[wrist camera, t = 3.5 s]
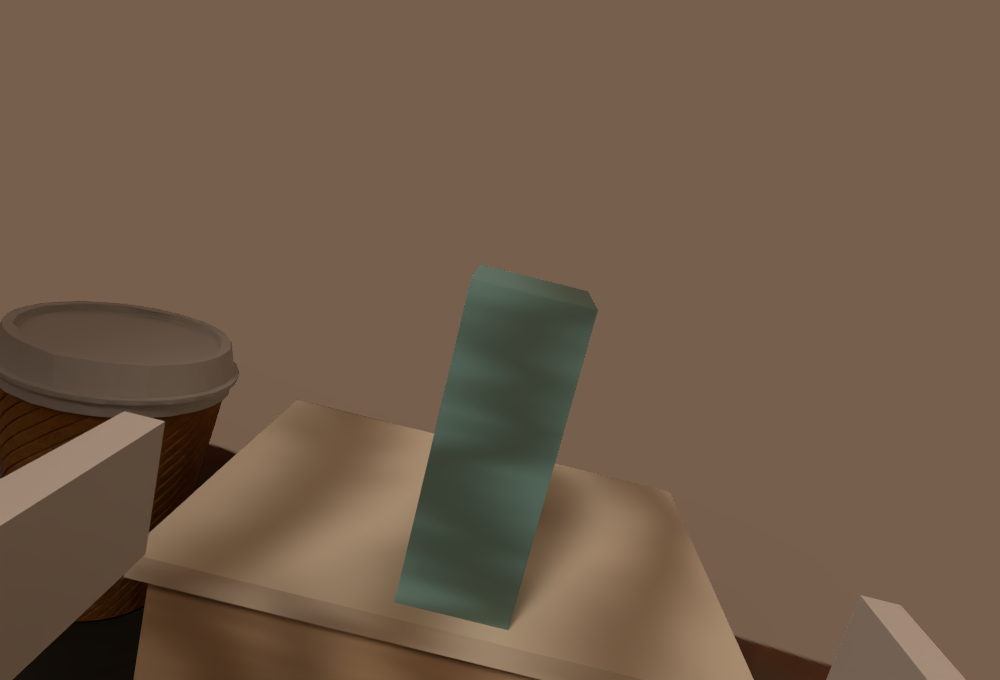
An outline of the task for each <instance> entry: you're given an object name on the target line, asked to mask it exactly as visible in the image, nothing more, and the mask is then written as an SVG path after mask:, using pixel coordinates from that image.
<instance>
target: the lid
mask: <svg viewBox="0 0 1000 680" xmlns="http://www.w3.org/2000/svg"><path fill="white" fill-rule="evenodd" d="M597 311H598V310H597V308H596V306H595V304H594V302H593V300H592V298H591V297H590V295H589V293H588V291H584V290H580V289H576V288H572V287H568V286H564V285H560V284H556V283H552V282H548V281H544V280H540V279H536V278H532V277H528V276H524V275H520V274H516V273H512V272H508V271H504V270H500V269H496V268H492V267H488V266H484V265H480V266H479V267H478V269H477V271H476V272H475V273H474V275H473V276H472V278H471V281H470V286H469V289H468V294H467V298H466V302H465V306H464V311H463V315H462V319H461V323H460V328H459V332H458V336H457V341H456V344H455V348H454V353H453V357H452V361H451V365H450V370H449V374H448V378H447V383H446V386H445V391H444V395H443V399H442V403H441V408H440V412H439V416H438V420H437V425H436V429H435V433H430V432H426V431H422V430H418V429H414V428H410V427H406V426H402V425H397V424H394V423H390V422H386V421H381V420H377V419H374V418H369V417H366V416H361V415H358V414H353V413H349V412H345V411H341V410H337V409H333V408H329V407H325V406H321V405H317V404H313V403H309V402H305V401H301V400H296V401H295V402H293V403H292V404H291V405H290V406H289V407H288V408H287V409H286V410H285V411H284V412H283V413H281V414H280V415H279V416H278V417H277V418H276V419H275V420H274V421H272V422H271V423H270V424H269V425H268V426H267V427H266V428H265V429H264V430H263V431H261V432H260V433H259V434H258V435H257V436H256V437H255V438H254V439H253V440H252V441H250V442H249V443H248V444H247V445H246V446H245V447H244V448H243V449H241V451H239V452H238V453H237V454H236V455H235V456H234V457H233V458H231V459H230V460H229V461H228V462H227V463H226V464H225V465H224V466H223V467H222V468H220V469H219V470H218V471H217V472H216V473H215V474H214V475H213V476H212V477H210V478H209V479H208V480H207V481H206V482H205V483H204V484H203V485H202V486H201V487H199V488H198V489H197V490H196V491H195V492H194V493H193V494H192V495H191V496H189V497H188V498H187V499H186V500H185V501H184V502H183V503H182V504H181V505H179V506H178V507H177V508H176V509H175V510H174V511H173V512H172V513H171V514H170V515H168V516H167V517H166V518H165V519H164V520H163V521H162V522H161V523H160V524H158V525H157V526H156V527H155V528H154V529H153V530H152V531H151V532H150V533H149V535H148V541H147V548H146V554H145V555H144V556H143V557H142V558H141V559H140V560H139V561H138V562H137V563H136V564H135V565H134V566H133V567H132V568H131V569H129V570H128V571H127V572H126V573H125V574H124V577H125V578H129V579H133V580H137V581H141V582H145V583H149V584H153V585H157V586H161V587H166V588H170V589H174V590H178V591H182V592H186V593H190V594H194V595H198V596H202V597H206V598H210V599H214V600H219V601H223V602H227V603H231V604H235V605H239V606H243V607H247V608H251V609H255V610H259V611H263V612H267V613H271V614H276V615H280V616H284V617H288V618H292V619H296V620H300V621H304V622H308V623H312V624H316V625H320V626H324V627H328V628H333V629H337V630H341V631H345V632H349V633H353V634H357V635H361V636H365V637H369V638H373V639H377V640H381V641H386V642H390V643H394V644H398V645H402V646H406V647H410V648H414V649H418V650H422V651H426V652H430V653H434V654H438V655H443V656H447V657H451V658H455V659H459V660H463V661H467V662H471V663H475V664H479V665H483V666H487V667H491V668H495V669H500V670H504V671H508V672H512V673H516V674H520V675H524V676H528V677H532V678H536V679H540V680H754V679H753V677H752V675H751V673H750V671H749V668H748V666H747V664H746V662H745V659H744V657H743V655H742V653H741V650H740V648H739V646H738V644H737V641H736V639H735V637H734V635H733V633H732V630H731V628H730V626H729V624H728V621H727V619H726V617H725V615H724V612H723V610H722V608H721V606H720V603H719V602H718V599H717V597H716V595H715V592H714V590H713V588H712V586H711V583H710V581H709V579H708V577H707V575H706V572H705V570H704V568H703V566H702V563H701V561H700V559H699V557H698V554H697V552H696V550H695V548H694V545H693V543H692V541H691V539H690V536H689V534H688V532H687V530H686V528H685V525H684V523H683V521H682V519H681V516H680V514H679V512H678V510H677V507H676V505H675V503H674V501H673V499H672V496H671V494H670V492H668V491H664V490H660V489H656V488H651V487H648V486H643V485H640V484H636V483H631V482H628V481H623V480H620V479H616V478H612V477H608V476H603V475H599V474H595V473H591V472H587V471H583V470H579V469H575V468H571V467H567V466H563V465H559V464H555V461H556V458H557V454H558V450H559V447H560V443H561V440H562V436H563V432H564V429H565V425H566V422H567V418H568V415H569V411H570V407H571V404H572V400H573V397H574V393H575V390H576V386H577V382H578V379H579V375H580V372H581V368H582V365H583V361H584V358H585V354H586V350H587V347H588V343H589V340H590V336H591V333H592V329H593V325H594V322H595V318H596V314H597Z"/></svg>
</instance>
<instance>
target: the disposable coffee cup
mask: <svg viewBox="0 0 1000 680" xmlns="http://www.w3.org/2000/svg"><path fill="white" fill-rule="evenodd" d="M238 374H239V371H238V368H237V366H236V364H235V363H234V362H233V354H232V342H231V341H230V339H229V338H228V337H227V336H226V334H225V333H223V332H222V331H220V330H218V329H217V328H215V327H214V326H211V325H209V324H207V323H205V322H202V321H199V320H196V319H193V318H190V317H186V316H183V315H180V314H177V313H172V312H168V311H163V310H159V309H154V308H148V307H142V306H135V305H128V304H119V303H106V302H87V301H73V302H51V303H40V304H35V305H30V306H25V307H21V308H18V309H15V310H13V311H11V312H9V313H7V314H6V315H5V316H4V317H3V318H2V321H1V323H0V447H1V453H0V454H1V461H2V466H1V468H2V475H3V477H5V476H7V475H9V474H10V473H12V472H14V471H16V470H18V469H20V468H21V467H23V466H25V465H27V464H29V463H31V462H32V461H34V460H36V459H38V458H40V457H42V456H43V455H45V454H47V453H49V452H51V451H53V450H54V449H56V448H58V447H60V446H62V445H64V444H65V443H67V442H69V441H71V440H73V439H75V438H76V437H78V436H80V435H82V434H84V433H86V432H87V431H89V430H91V429H93V428H95V427H96V426H98V425H100V424H102V423H104V422H106V421H107V420H109V419H111V418H113V417H115V416H117V415H118V414H120V413H122V412H124V411H125V412H129V413H133V414H137V415H141V416H145V417H149V418H153V419H157V420H161V421H165V426H164V433H163V439H162V446H161V453H160V460H159V467H158V473H157V480H156V487H155V494H154V501H153V507H152V514H151V521H150V528H149V533H150V532H151V531H152V530H153V529H154V528H155V527H156V526H157V525H158V524H160V523H161V522H162V521H163V520H164V519H165V518H166V517H167V516H168V515H170V514H171V513H172V512H173V511H174V510H175V509H176V508H177V507H178V506H179V505H181V504H182V503H183V502H184V501H185V500H186V499H187V498H188V497H189V496H191V495H192V494H193V493H194V490H195V487H196V484H197V480H198V477H199V474H200V471H201V467H202V465H203V462H204V458H205V454H206V451H207V448H208V444H209V441H210V438H211V435H212V431H213V428H214V425H215V422H216V418H217V415H218V412H219V409H220V405H221V402H222V400H223V399H224V398H225V397H226V396H227V395H228V393H229V389H230V388H231V387H232V386H233V385H234V384H235V383H236V381H237V379H238ZM147 586H148V583H145V582H141V581H137V580H133V579H129V578H125V577H124V575H123V576H122V577H121V578H120V579H119V580H118V581H117V582H116V583H115V584H114V585H112V586H111V587H110V588H109V589H108V590H107V591H106V592H105V593H104V594H103V595H102V596H101V597H100V598H99V599H98V600H97V601H95V602H94V603H93V604H92V605H91V606H90V607H89V608H88V609H87V610H86V611H85V612H84V613H83V614H82V615H81V616H80V617H78V618H77V619H76V620H75V621H93V620H102V619H107V618H112V617H116V616H119V615H123V614H126V613H129V612H131V611H134V610H136V609H138V608H140V607H142V606H144V605H145V600H146V593H147Z"/></svg>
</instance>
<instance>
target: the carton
mask: <svg viewBox="0 0 1000 680" xmlns="http://www.w3.org/2000/svg"><path fill="white" fill-rule="evenodd" d="M134 680H540V679H536V678H532V677H528V676H524V675H520V674H516V673H512V672H508V671H504V670H500V669H495V668H491V667H487V666H483V665H479V664H475V663H471V662H467V661H463V660H459V659H455V658H451V657H447V656H443V655H438V654H434V653H430V652H426V651H422V650H418V649H414V648H410V647H406V646H402V645H398V644H394V643H390V642H386V641H381V640H377V639H373V638H369V637H365V636H361V635H357V634H353V633H349V632H345V631H341V630H337V629H333V628H328V627H324V626H320V625H316V624H312V623H308V622H304V621H300V620H296V619H292V618H288V617H284V616H280V615H276V614H271V613H267V612H263V611H259V610H255V609H251V608H247V607H243V606H239V605H235V604H231V603H227V602H223V601H219V600H214V599H210V598H206V597H202V596H198V595H194V594H190V593H186V592H182V591H178V590H174V589H170V588H166V587H161V586H157V585H153V584H149V583H148V586H147V593H146V600H145V607H144V613H143V620H142V627H141V633H140V640H139V647H138V653H137V660H136V667H135V673H134Z"/></svg>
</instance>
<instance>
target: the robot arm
mask: <svg viewBox="0 0 1000 680" xmlns="http://www.w3.org/2000/svg"><path fill="white" fill-rule="evenodd" d="M164 426H165V421H161V420H157V419H153V418H149V417H145V416H141V415H137V414H133V413H129V412H125V411H124V412H122V413H120V414H118V415H117V416H115V417H113V418H111V419H109V420H107V421H106V422H104V423H102V424H100V425H98V426H96V427H95V428H93V429H91V430H89V431H87V432H86V433H84V434H82V435H80V436H78V437H76V438H75V439H73V440H71V441H69V442H67V443H65V444H64V445H62V446H60V447H58V448H56V449H54V450H53V451H51V452H49V453H47V454H45V455H43V456H42V457H40V458H38V459H36V460H34V461H32V462H31V463H29V464H27V465H25V466H23V467H21V468H20V469H18V470H16V471H14V472H12V473H10V474H9V475H7V476H5V477H3V478H1V479H0V680H13V679H14V678H15V677H16V676H17V675H18V674H19V673H20V672H21V671H22V670H23V669H24V668H25V667H26V666H28V665H29V664H30V663H31V662H32V661H33V660H34V659H35V658H36V657H37V656H38V655H39V654H40V653H41V652H42V651H43V650H45V649H46V648H47V647H48V646H49V645H50V644H51V643H52V642H53V641H54V640H55V639H56V638H57V637H58V636H59V635H60V634H62V633H63V632H64V631H65V630H66V629H67V628H68V627H69V626H70V625H71V624H72V623H73V622H74V621H75V620H76V619H77V618H78V617H80V616H81V615H82V614H83V613H84V612H85V611H86V610H87V609H88V608H89V607H90V606H91V605H92V604H93V603H94V602H95V601H97V600H98V599H99V598H100V597H101V596H102V595H103V594H104V593H105V592H106V591H107V590H108V589H109V588H110V587H111V586H112V585H114V584H115V583H116V582H117V581H118V580H119V579H120V578H121V577H122V576H123V575H124V574H125V573H126V572H127V571H128V570H129V569H131V568H132V567H133V566H134V565H135V564H136V563H137V562H138V561H139V560H140V559H141V558H142V557H143V556H144V555H145V554H146V548H147V541H148V535H149V528H150V521H151V514H152V507H153V501H154V494H155V487H156V480H157V473H158V467H159V460H160V453H161V446H162V439H163V433H164ZM826 680H965V679H964V677H963V676H962V675H961V674H960V673H959V672H958V670H957V669H956V668H955V667H954V666H953V665H952V664H951V662H950V661H949V660H948V659H947V658H946V657H945V656H944V654H943V653H942V652H941V651H940V650H939V649H938V648H937V647H936V645H935V644H934V643H933V642H932V641H931V640H930V638H929V637H928V636H927V635H926V634H925V633H924V631H923V630H922V629H921V628H920V627H919V626H918V625H917V624H916V622H915V621H914V620H913V619H912V618H911V617H910V615H909V614H908V613H907V612H906V611H905V610H904V609H903V607H902V606H900V605H897V604H894V603H890V602H886V601H882V600H878V599H873V598H870V597H866V596H862V595H860V597H859V599H858V602H857V604H856V607H855V609H854V612H853V614H852V617H851V619H850V622H849V625H848V627H847V629H846V632H845V635H844V637H843V640H842V642H841V644H840V647H839V650H838V652H837V655H836V657H835V659H834V662H833V664H832V667H831V669H830V672H829V674H828V677H827V679H826Z"/></svg>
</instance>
